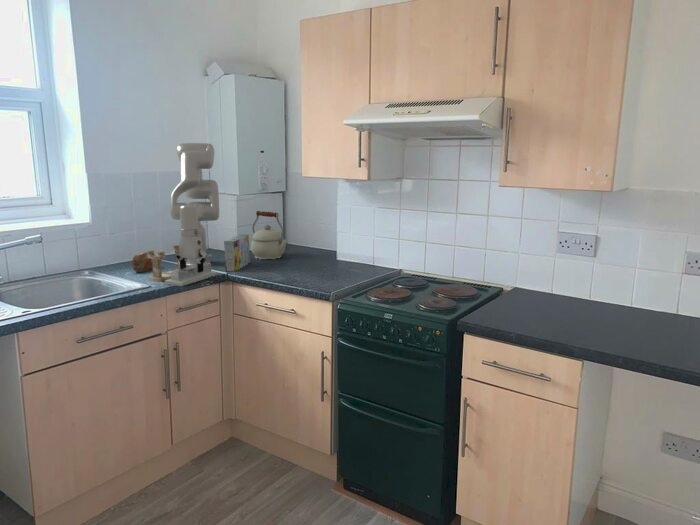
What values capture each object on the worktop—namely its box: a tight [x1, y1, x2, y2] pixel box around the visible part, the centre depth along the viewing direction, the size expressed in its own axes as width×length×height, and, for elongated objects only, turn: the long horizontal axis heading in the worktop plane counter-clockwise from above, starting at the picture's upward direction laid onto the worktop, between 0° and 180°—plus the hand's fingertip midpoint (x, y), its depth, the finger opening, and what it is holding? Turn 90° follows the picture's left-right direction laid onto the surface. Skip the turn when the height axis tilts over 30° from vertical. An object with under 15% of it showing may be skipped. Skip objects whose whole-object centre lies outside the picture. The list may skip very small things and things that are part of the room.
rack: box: [146, 244, 187, 283], centre depth 247 cm, size 20×7×13 cm, turn 156°
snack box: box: [223, 233, 251, 272], centre depth 269 cm, size 21×6×15 cm, turn 171°
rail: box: [170, 262, 212, 282], centre depth 243 cm, size 22×4×4 cm, turn 156°
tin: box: [131, 251, 153, 273], centre depth 260 cm, size 15×3×8 cm, turn 168°
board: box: [164, 270, 218, 287], centre depth 243 cm, size 24×9×2 cm, turn 156°
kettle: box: [250, 210, 289, 260], centre depth 292 cm, size 25×18×25 cm
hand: (191, 271), depth 243 cm, fingers open, 9 cm apart
